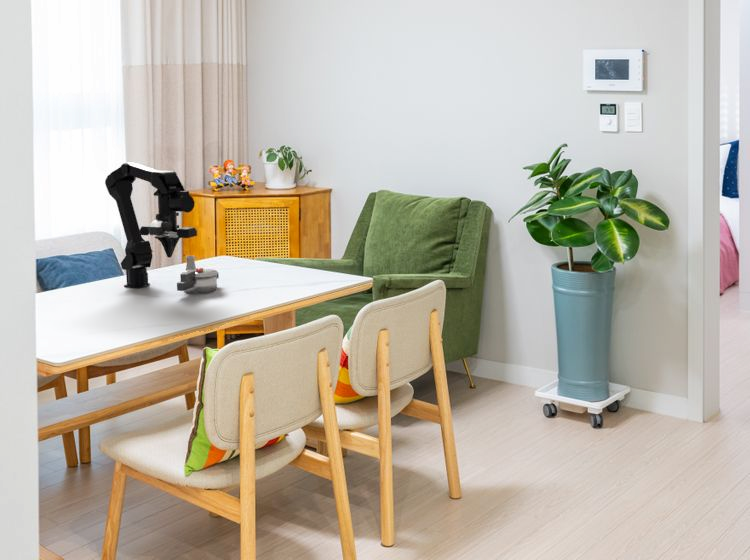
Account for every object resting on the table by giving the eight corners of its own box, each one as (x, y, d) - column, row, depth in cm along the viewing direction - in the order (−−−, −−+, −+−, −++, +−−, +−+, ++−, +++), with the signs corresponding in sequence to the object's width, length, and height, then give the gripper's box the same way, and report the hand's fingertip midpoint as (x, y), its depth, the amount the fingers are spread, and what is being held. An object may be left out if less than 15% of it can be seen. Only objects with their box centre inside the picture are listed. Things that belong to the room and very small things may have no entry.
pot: (200, 284, 329) (199, 270, 328) (227, 287, 325) (227, 272, 324) (165, 296, 311) (165, 281, 310) (194, 299, 306) (194, 283, 305)
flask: (197, 287, 325) (196, 258, 323) (177, 286, 326) (176, 257, 324) (205, 283, 331) (204, 255, 330) (185, 282, 333) (184, 254, 331)
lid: (191, 270, 325) (191, 263, 325) (223, 272, 322) (222, 265, 322) (167, 280, 309) (166, 273, 308) (199, 282, 306) (199, 275, 305)
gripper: (128, 211, 306) (130, 259, 309) (177, 214, 299) (179, 263, 302) (149, 207, 316) (151, 253, 319) (197, 210, 309) (198, 257, 313)
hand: (169, 257), depth 313 cm, fingers closed
